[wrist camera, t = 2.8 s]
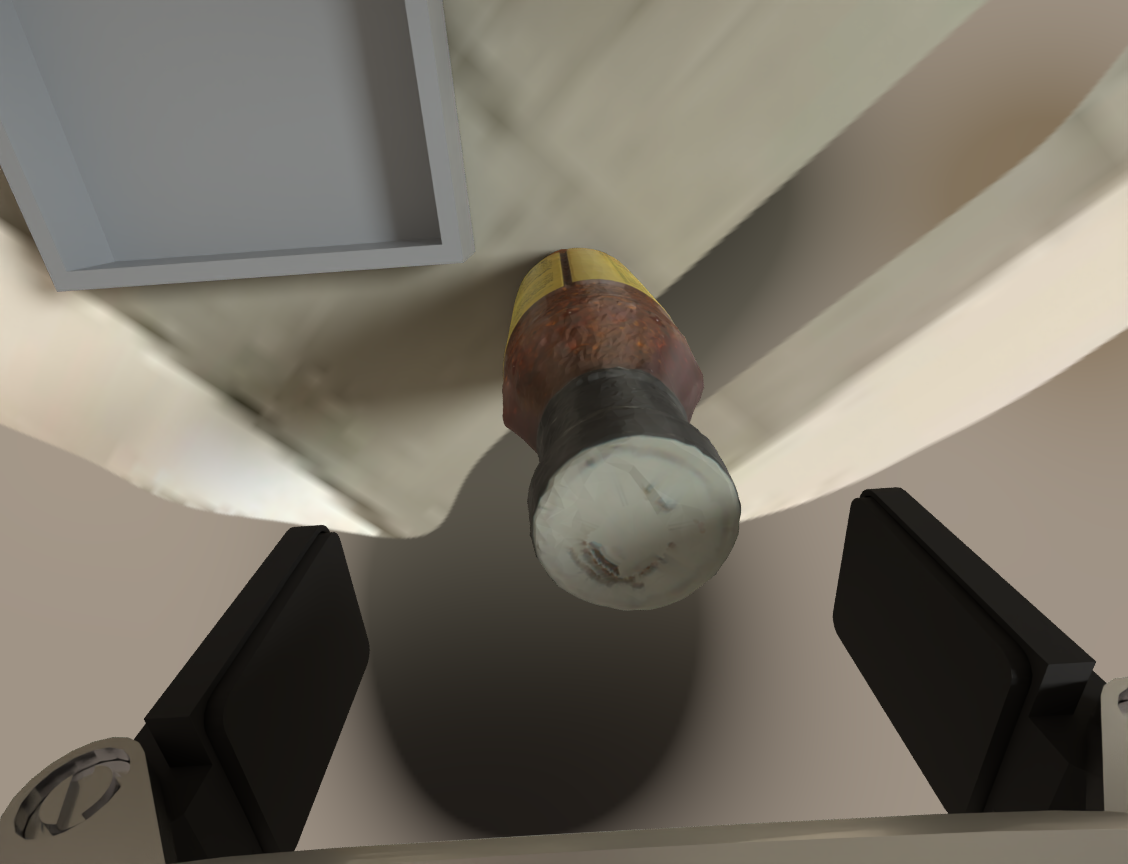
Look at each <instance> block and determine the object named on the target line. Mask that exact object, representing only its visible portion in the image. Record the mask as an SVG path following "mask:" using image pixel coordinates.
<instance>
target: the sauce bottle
mask: <svg viewBox="0 0 1128 864" xmlns="http://www.w3.org/2000/svg"><path fill="white" fill-rule="evenodd" d="M503 379H504V382H503V389H502V393H503V421H504V424H505V426H506V427H507V428H509V429H510V430H512V431H513V432H515V433H516V434H517V435H518V436H520V437H521V438H522V439H523V440H524V441H525V442H526V443H527V444H528V445H529V446H530V447H531V448H532V449H533V450H535V452H536V453H537V454H538V457H539V462H540V463H539V465H538V466H537V468H536V470H535V472H534V475H533V477H532V479H531V483H530V486H529V492H528V501H527V502H528V510H529V520H530V536H531V539H532V543H533V547H534V551H535V554H536V557H537V558H538V560H539V561H540V563H541V564H542V566H543V567H544V569H545V571H546V573H547V574H548V576H549V577H550V578H551V579H552V580H553V581H554V582H555V583H556V584H557V586H559V587H560V588H562V589H563V590H565V591H567V592H569V593H571V594H572V595H574V596H576V597H578V598H579V599H582V600H585V601H587V602H591V603H593V604H596V605H600V606H605V607H610V608H615V609H620V610H624V611H626V610H650V609H655V608H659V607H663V606H666V605H669V604H672V603H674V602H676V601H679V600H682V599H684V598H685V597H687V596H688V595H690V594H691V593H692V592H694V591H695V590H697V589H698V588H699V587H700V586H702V585H703V584H704V583H706V582H707V581H708V580H709V579H711V578H712V577H713V576H714V575H716V573H717V571H718V570H719V569H720V567H721V566H722V564H723V563H724V561H725V560H726V559H727V557H728V556H729V554H730V552H731V550H732V548H733V546H734V544H735V541H736V539H737V536H738V533H739V520H740V515H741V504H740V501H739V497H738V493H737V490H736V487H735V485H734V483H733V480H732V478H731V476H730V474H729V473H728V470H727V468H726V466H725V464H724V462H723V461H722V459H721V458H720V456H719V455H718V452H717V451H716V449H715V447H714V446H713V445H712V444H711V442H710V440H709V439H708V438H707V437H706V436H704V435H703V434H701V433H700V432H699V430H698V429H696V428H695V427H694V426H693V425H691V424H690V420H691V417H692V414H693V411H694V409H695V407H696V405H697V403H698V402H699V400H700V398H701V395H702V391H703V388H704V384H703V374H702V372H701V370H700V368H699V366H698V364H697V362H696V360H695V358H694V356H693V354H692V352H691V350H690V348H689V346H688V343H687V341H686V338H685V337H684V336H683V335H682V334H681V333H680V331H679V330H678V328H677V327H676V326H675V325H674V323H673V321H672V319H671V318H670V316H669V315H668V313H667V312H666V311H665V310H664V309H663V307H662V306H661V305H660V304H659V303H658V302H657V301H656V300H655V299H654V297H653V296H652V295H651V294H650V293H649V292H648V291H647V289H646V288H645V287H644V286H643V285H642V284H641V283H640V282H639V281H638V280H637V279H636V278H635V277H634V276H633V274H632V273H631V272H630V271H629V270H628V269H627V268H626V267H625V266H624V265H623V264H621V263H620V262H619V261H618V260H616V259H615V258H613V257H611V256H609V255H607V254H606V253H604V252H600V251H597V250H593V249H586V248H571V249H561V250H558V251H556V252H554V253H552V254H550V255H549V256H547V257H545V258H544V259H543V260H541V261H540V262H539V263H538V264H537V265H535V266H534V267H533V268H532V269H531V270H530V271H529V273H528V274H527V275H526V276H525V277H524V279H523V281H522V283H521V285H520V288H519V290H518V293H517V296H516V300H515V304H514V309H513V314H512V319H511V325H510V330H509V335H508V340H507V344H506V349H505V354H504V361H503Z"/></svg>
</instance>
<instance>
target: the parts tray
mask: <svg viewBox="0 0 1128 864" xmlns="http://www.w3.org/2000/svg"><path fill="white" fill-rule="evenodd" d="M0 165H1V168H2V170H3V172H4V174H5V177H6V179H7V181H8V183H9V186H10V188H11V190H12V192H13V194H14V197H15V199H16V201H17V203H18V206H19V208H20V210H21V212H22V214H23V217H24V219H25V221H26V223H27V226H28V228H29V230H30V232H31V235H32V237H33V239H34V241H35V243H36V246H37V248H38V250H39V252H40V255H41V257H42V259H43V261H44V264H45V266H46V268H47V270H48V272H49V275H50V277H51V279H52V281H53V284H54V286H55V288H56V290H57V292H59V291H73V290H87V289H101V288H115V287H129V286H143V285H157V284H171V283H185V282H199V281H213V280H227V279H241V278H255V277H269V276H283V275H297V274H311V273H325V272H339V271H353V270H367V269H381V268H395V267H409V266H423V265H437V264H451V263H464V262H465V261H466V260H467V259H468V258H469V257H470V256H471V255H472V254H473V253H474V252H475V246H474V238H473V231H472V223H471V215H470V208H469V200H468V192H467V185H466V177H465V169H464V162H463V154H462V146H461V139H460V131H459V123H458V116H457V108H456V101H455V93H454V85H453V78H452V70H451V62H450V55H449V47H448V39H447V32H446V24H445V16H444V9H443V1H442V0H0Z"/></svg>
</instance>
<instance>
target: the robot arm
mask: <svg viewBox="0 0 1128 864" xmlns="http://www.w3.org/2000/svg"><path fill="white" fill-rule="evenodd" d="M833 622H834V627H835V630H836V633H837V635H838V636H839V638H840V639H841V641H842V643H843V644H844V646H845V648H846V649H847V651H848V653H849V654H850V656H851V657H852V659H853V661H854V662H855V664H856V666H857V667H858V669H859V670H860V672H861V674H862V675H863V677H864V678H865V680H866V682H867V683H868V685H869V687H870V688H871V690H872V691H873V693H874V695H875V696H876V698H877V700H878V701H879V703H880V705H881V706H882V708H883V709H884V711H885V712H886V714H887V716H888V717H889V719H890V721H891V722H892V724H893V726H894V727H895V729H896V730H897V732H898V733H899V735H900V737H901V738H902V740H903V742H904V743H905V745H906V747H907V748H908V750H909V751H910V753H911V755H912V756H913V758H914V760H915V761H916V763H917V764H918V766H919V768H920V769H921V771H922V773H923V774H924V776H925V777H926V779H927V781H928V782H929V784H930V786H931V787H932V789H933V790H934V792H935V794H936V795H937V797H938V798H939V800H940V802H941V803H942V805H943V806H944V808H945V809H946V811H947V812H948V814H932V815H910V816H891V817H871V818H851V819H831V820H811V821H791V822H771V823H751V824H734V825H714V826H697V827H680V828H679V827H678V828H661V829H643V830H624V831H606V832H590V833H572V834H555V835H536V836H520V837H503V838H488V839H471V840H455V841H441V842H440V841H439V842H423V843H406V844H391V845H374V846H358V847H342V848H330V849H318V850H304V851H294V850H295V848H296V846H297V844H298V841H299V839H300V836H301V834H302V831H303V828H304V826H305V823H306V821H307V818H308V816H309V813H310V810H311V808H312V805H313V803H314V800H315V797H316V795H317V792H318V790H319V787H320V785H321V782H322V779H323V777H324V774H325V772H326V769H327V767H328V764H329V762H330V759H331V756H332V754H333V751H334V749H335V746H336V743H337V741H338V738H339V736H340V733H341V731H342V728H343V725H344V723H345V720H346V718H347V715H348V713H349V710H350V707H351V705H352V702H353V700H354V697H355V695H356V692H357V689H358V687H359V684H360V682H361V679H362V677H363V674H364V671H365V669H366V666H367V663H368V659H369V651H370V649H369V641H368V638H367V634H366V630H365V627H364V623H363V620H362V616H361V613H360V609H359V605H358V602H357V599H356V595H355V591H354V588H353V584H352V581H351V577H350V573H349V570H348V566H347V563H346V559H345V555H344V552H343V548H342V545H341V541H340V538H339V536H338V534H337V533H335V532H330V531H329V529H328V528H327V527H326V526H324V525H316V526H301V527H292V528H290V529H289V530H288V531H287V532H286V533H285V535H284V536H283V537H282V538H281V540H280V541H279V542H278V544H277V545H276V546H275V548H274V549H273V550H272V552H271V553H270V554H269V556H268V557H267V558H266V559H265V561H264V562H263V563H262V565H261V566H260V567H259V569H258V570H257V571H256V573H255V574H254V575H253V577H252V578H251V579H250V580H249V582H248V583H247V584H246V586H245V587H244V588H243V590H242V591H241V593H240V594H239V595H238V596H237V598H236V599H235V600H234V602H233V603H232V604H231V606H230V607H229V608H228V609H227V611H226V612H225V613H224V615H223V616H222V617H221V618H220V620H219V621H218V622H217V624H216V625H215V626H214V628H213V629H212V630H211V632H210V633H209V634H208V635H207V637H206V638H205V639H204V641H203V642H202V643H201V645H200V646H199V647H198V649H197V650H196V651H195V653H194V654H193V655H192V656H191V658H190V659H189V660H188V662H187V663H186V664H185V666H184V667H183V668H182V670H181V671H180V672H179V673H178V675H177V676H176V677H175V679H174V680H173V681H172V683H171V684H170V685H169V687H168V688H167V689H166V691H165V692H164V693H163V694H162V696H161V697H160V698H159V700H158V701H157V702H156V704H155V705H154V706H153V708H152V709H151V710H150V711H149V713H148V714H147V715H146V717H145V718H144V720H145V722H146V724H145V725H144V727H143V728H142V729H141V731H140V732H139V733H138V735H137V736H136V737H135V739H134V740H132V739H130V738H127V737H126V738H125V737H112V738H107V739H103V740H99V741H95V742H92V743H90V744H87V745H85V746H83V747H81V748H78V749H75V750H74V751H71V752H70V753H68V754H66V755H65V756H63V757H61V758H60V759H58V760H56V761H55V762H53V763H51V764H50V765H49V766H47V767H46V768H45V769H44V770H42V771H41V772H40V773H39V774H37V775H36V776H35V777H34V778H32V779H31V780H30V781H29V782H28V783H27V784H26V785H25V786H24V787H23V788H22V789H21V791H19V792H18V793H17V795H16V796H15V797H14V798H13V799H12V801H11V802H10V804H9V805H8V807H7V808H6V810H5V812H4V813H3V814H2V816H1V819H0V864H1128V677H1123V678H1115V679H1113V680H1111V681H1110V682H1108V683H1106V682H1105V681H1104V680H1102V679H1101V678H1100V677H1099V676H1098V675H1097V674H1096V673H1095V672H1094V671H1093V668H1094V666H1095V663H1096V661H1095V660H1094V659H1093V658H1091V657H1090V656H1089V655H1088V654H1087V653H1086V652H1085V651H1084V650H1083V649H1081V648H1080V647H1079V646H1078V645H1077V644H1076V643H1075V642H1074V641H1072V640H1071V639H1070V638H1069V637H1068V636H1067V635H1066V634H1065V633H1063V632H1062V631H1061V630H1060V629H1059V628H1058V627H1057V626H1056V625H1055V624H1053V623H1052V622H1051V621H1050V620H1049V619H1048V618H1047V617H1046V616H1045V615H1043V614H1042V613H1041V612H1040V611H1039V610H1038V609H1037V608H1036V607H1035V606H1033V605H1032V604H1031V603H1030V602H1029V601H1028V600H1027V599H1026V598H1024V597H1023V596H1022V595H1021V594H1020V593H1019V592H1018V591H1016V589H1014V588H1013V587H1012V586H1011V585H1010V584H1009V583H1008V582H1007V581H1005V580H1004V579H1003V578H1002V577H1001V576H1000V575H999V574H998V573H997V572H995V571H994V570H993V569H992V568H991V567H990V566H989V565H988V564H986V563H985V562H984V561H983V560H982V559H981V558H980V557H979V556H978V555H976V554H975V553H974V552H973V551H972V550H971V549H970V548H969V547H967V546H966V545H965V544H964V543H963V542H962V541H961V540H959V538H957V537H956V536H955V535H954V534H953V533H952V532H951V531H949V530H948V529H947V528H946V527H945V526H944V525H943V524H942V523H941V522H939V521H938V520H937V519H936V518H935V517H934V516H933V515H932V514H931V513H929V512H928V511H927V510H926V509H925V508H924V507H923V506H922V505H920V504H919V503H918V502H917V501H916V500H915V499H914V498H912V497H911V496H910V495H909V494H908V493H907V492H906V491H905V490H903V489H902V488H897V487H894V488H880V489H866V490H864V491H863V492H862V494H861V495H860V498H855V499H854V500H853V501H852V503H851V507H850V513H849V519H848V526H847V531H846V537H845V543H844V549H843V555H842V561H841V568H840V573H839V579H838V586H837V592H836V598H835V604H834V610H833Z"/></svg>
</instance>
